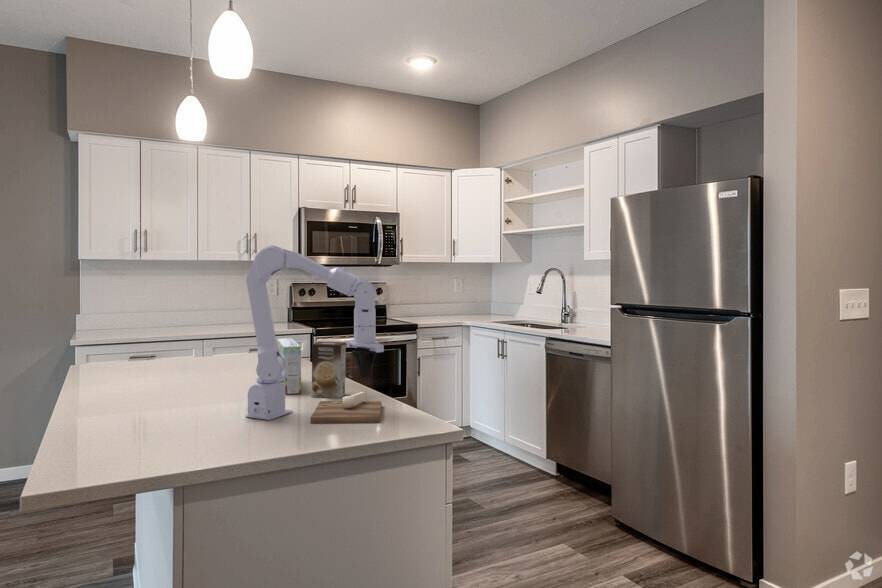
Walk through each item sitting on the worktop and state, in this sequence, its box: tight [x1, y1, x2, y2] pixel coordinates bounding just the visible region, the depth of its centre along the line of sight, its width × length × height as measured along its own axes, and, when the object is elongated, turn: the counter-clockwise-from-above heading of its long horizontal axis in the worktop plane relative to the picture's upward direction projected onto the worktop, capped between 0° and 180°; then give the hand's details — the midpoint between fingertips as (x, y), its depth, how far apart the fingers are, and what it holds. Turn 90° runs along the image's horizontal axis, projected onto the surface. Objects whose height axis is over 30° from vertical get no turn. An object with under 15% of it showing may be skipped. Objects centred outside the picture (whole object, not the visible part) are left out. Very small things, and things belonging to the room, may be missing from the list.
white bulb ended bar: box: [342, 390, 367, 407], centre depth 159 cm, size 10×3×2 cm, turn 156°
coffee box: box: [310, 341, 347, 399], centre depth 178 cm, size 9×6×16 cm
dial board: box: [310, 400, 383, 424], centre depth 155 cm, size 18×17×2 cm
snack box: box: [276, 337, 302, 396], centre depth 189 cm, size 21×6×15 cm, turn 21°
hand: (364, 376), depth 158 cm, fingers closed
